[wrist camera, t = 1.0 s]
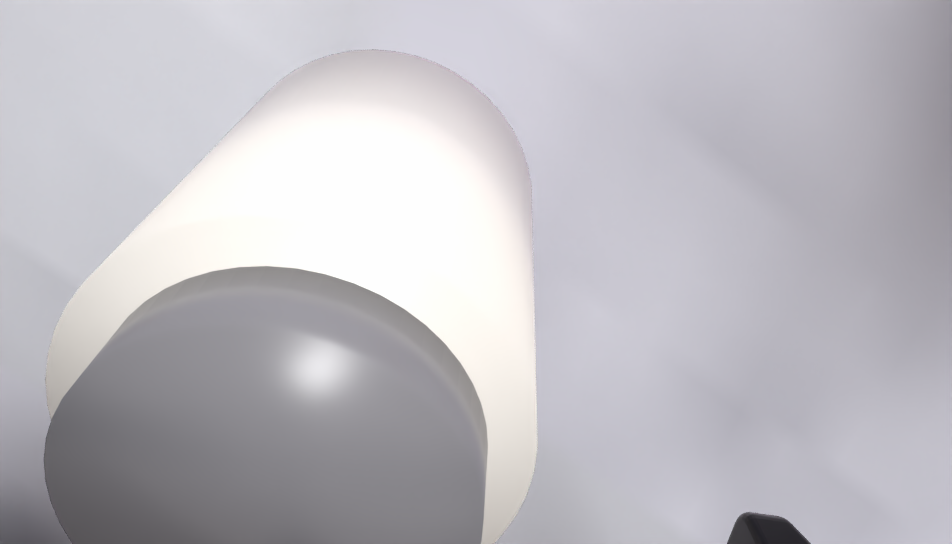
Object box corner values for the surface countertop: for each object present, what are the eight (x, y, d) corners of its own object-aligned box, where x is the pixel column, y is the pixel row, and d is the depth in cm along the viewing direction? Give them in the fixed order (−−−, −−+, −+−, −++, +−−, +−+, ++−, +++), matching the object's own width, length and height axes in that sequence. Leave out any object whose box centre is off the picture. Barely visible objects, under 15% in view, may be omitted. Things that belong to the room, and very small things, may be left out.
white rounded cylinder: (508, 343, 15) (496, 710, 9) (235, 306, 15) (28, 649, 9) (556, 74, 12) (590, 318, 6) (230, 27, 12) (-64, 228, 6)
